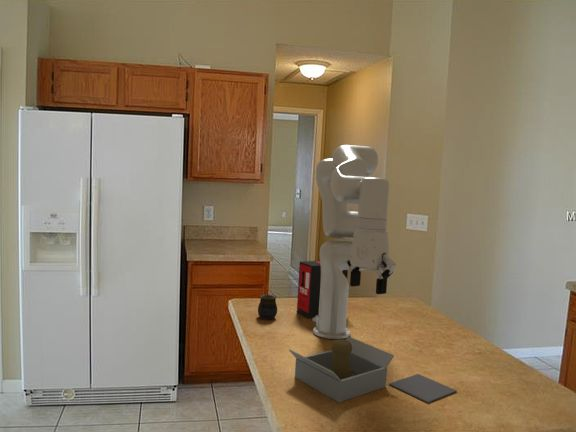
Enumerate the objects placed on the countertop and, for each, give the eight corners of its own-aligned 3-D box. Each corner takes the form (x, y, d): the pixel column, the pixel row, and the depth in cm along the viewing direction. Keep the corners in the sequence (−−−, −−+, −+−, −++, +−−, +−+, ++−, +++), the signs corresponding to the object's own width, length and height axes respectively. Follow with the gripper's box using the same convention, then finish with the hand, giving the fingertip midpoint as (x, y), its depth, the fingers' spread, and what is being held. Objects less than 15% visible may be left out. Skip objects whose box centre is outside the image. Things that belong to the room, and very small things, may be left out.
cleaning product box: (309, 319, 181) (312, 265, 179) (296, 312, 188) (299, 261, 187) (344, 314, 189) (348, 264, 187) (331, 308, 197) (334, 259, 195)
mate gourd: (275, 315, 183) (277, 289, 182) (278, 321, 176) (279, 294, 175) (256, 314, 182) (258, 288, 181) (258, 321, 175) (259, 293, 174)
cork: (326, 376, 129) (328, 336, 128) (348, 377, 129) (351, 337, 128) (330, 386, 123) (332, 344, 122) (353, 387, 123) (356, 345, 122)
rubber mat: (389, 384, 126) (389, 383, 126) (417, 375, 133) (418, 373, 133) (427, 403, 116) (428, 401, 116) (456, 392, 124) (456, 390, 124)
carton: (287, 379, 126) (288, 349, 125) (346, 363, 139) (348, 336, 139) (330, 405, 113) (332, 372, 112) (392, 384, 126) (394, 354, 125)
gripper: (339, 221, 131) (335, 284, 133) (385, 228, 117) (381, 298, 118) (359, 221, 136) (355, 282, 137) (407, 228, 122) (402, 295, 123)
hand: (367, 289), depth 128 cm, fingers open, 9 cm apart
